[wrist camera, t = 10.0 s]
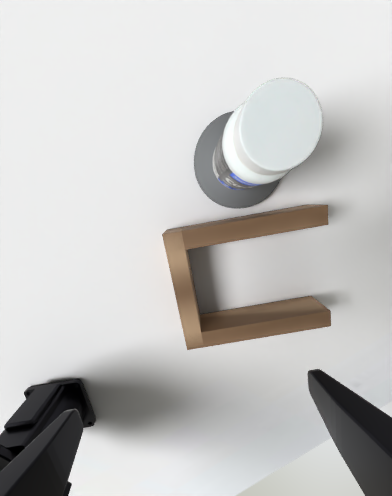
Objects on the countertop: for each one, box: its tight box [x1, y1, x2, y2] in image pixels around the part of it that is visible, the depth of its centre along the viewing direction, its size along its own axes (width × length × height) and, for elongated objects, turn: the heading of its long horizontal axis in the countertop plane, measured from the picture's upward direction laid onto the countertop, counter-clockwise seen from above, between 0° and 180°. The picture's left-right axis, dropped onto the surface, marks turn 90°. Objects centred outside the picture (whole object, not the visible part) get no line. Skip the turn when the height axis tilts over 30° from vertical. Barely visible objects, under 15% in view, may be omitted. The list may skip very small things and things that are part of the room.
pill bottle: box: [213, 78, 323, 190], centre depth 13 cm, size 5×5×8 cm
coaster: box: [194, 111, 281, 208], centre depth 18 cm, size 8×8×1 cm
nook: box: [162, 205, 331, 350], centre depth 19 cm, size 11×14×3 cm
